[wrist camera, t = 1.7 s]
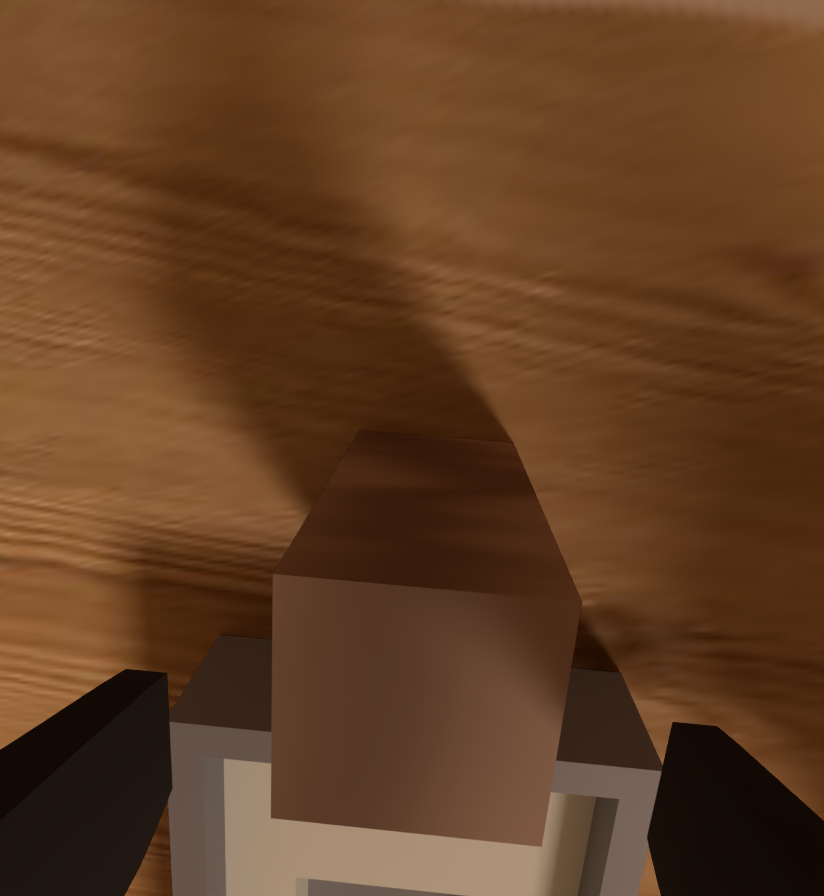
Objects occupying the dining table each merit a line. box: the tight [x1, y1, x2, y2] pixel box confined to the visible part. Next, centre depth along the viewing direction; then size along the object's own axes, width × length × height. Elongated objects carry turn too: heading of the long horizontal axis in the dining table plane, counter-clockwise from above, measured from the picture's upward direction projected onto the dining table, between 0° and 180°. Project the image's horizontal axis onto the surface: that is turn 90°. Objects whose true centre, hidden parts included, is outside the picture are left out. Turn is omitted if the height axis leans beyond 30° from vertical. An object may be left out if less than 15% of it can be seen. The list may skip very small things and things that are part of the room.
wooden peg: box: [271, 430, 582, 847], centre depth 14 cm, size 4×4×9 cm
